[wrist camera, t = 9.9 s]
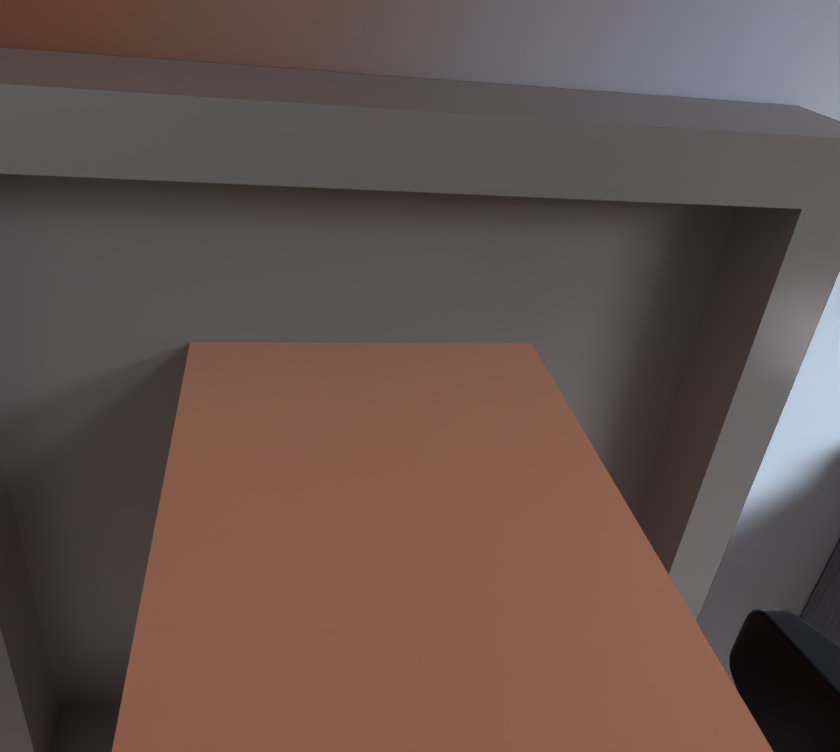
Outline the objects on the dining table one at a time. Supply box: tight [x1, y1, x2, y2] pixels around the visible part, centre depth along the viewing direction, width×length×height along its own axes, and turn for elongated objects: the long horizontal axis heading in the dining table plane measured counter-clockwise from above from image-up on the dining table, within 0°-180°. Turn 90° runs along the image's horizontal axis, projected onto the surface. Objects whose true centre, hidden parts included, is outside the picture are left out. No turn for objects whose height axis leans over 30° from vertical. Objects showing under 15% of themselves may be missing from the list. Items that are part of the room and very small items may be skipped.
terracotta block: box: [112, 342, 773, 752], centre depth 9 cm, size 4×4×6 cm
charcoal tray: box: [0, 47, 840, 752], centre depth 11 cm, size 11×11×2 cm
